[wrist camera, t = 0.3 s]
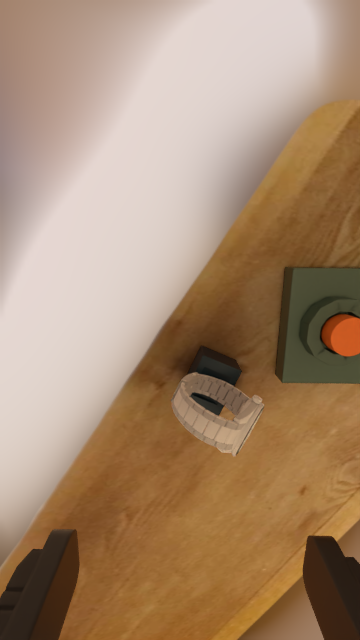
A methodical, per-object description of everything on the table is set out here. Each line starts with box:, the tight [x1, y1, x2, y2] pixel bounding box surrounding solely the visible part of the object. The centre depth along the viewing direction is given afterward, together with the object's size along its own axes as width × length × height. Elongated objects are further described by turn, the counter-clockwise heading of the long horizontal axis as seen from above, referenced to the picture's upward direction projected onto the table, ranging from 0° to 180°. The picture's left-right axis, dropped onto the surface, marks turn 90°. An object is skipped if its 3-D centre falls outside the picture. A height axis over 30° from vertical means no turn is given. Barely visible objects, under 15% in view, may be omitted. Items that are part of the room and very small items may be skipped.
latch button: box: [321, 314, 360, 356], centre depth 25 cm, size 4×4×2 cm
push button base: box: [275, 267, 360, 384], centre depth 27 cm, size 12×9×4 cm
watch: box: [171, 346, 264, 456], centre depth 25 cm, size 6×8×11 cm
